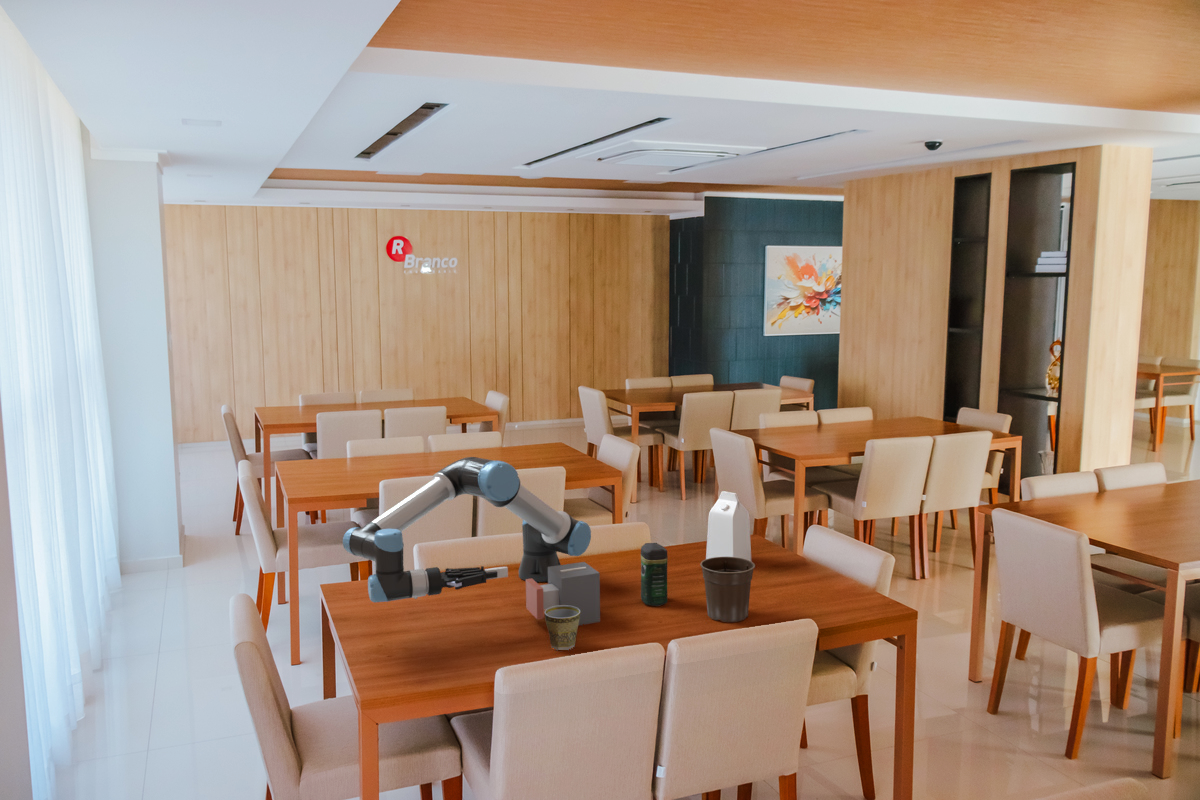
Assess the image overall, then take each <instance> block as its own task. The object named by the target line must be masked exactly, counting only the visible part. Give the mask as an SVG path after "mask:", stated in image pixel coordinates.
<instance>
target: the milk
mask: <svg viewBox="0 0 1200 800" xmlns="http://www.w3.org/2000/svg"><path fill="white" fill-rule="evenodd" d="M707 521H708V522H707V537H706V552H705V553H706V555H705V559H709V558H714V557H737V558H743V559H747V560H749V561H751V562H752V549H751V546H752V545H751V527H750V526H751V523H750V513H749V510H748V509H747V508H746V507H745V506H744V505H743V503H742V502H741V501H740V499H739V496H738V493H736V492H730V491H724V490H722V491H721V492H720V494H719V497H718V499H717V500H716V502H715V503H714V505H713V506H712V507H711V509H710V511H709V512H708V520H707Z"/></svg>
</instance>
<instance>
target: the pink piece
mask: <svg viewBox="0 0 1200 800" xmlns="http://www.w3.org/2000/svg"><path fill="white" fill-rule="evenodd" d="M525 602H526V603H525V604H526V605H525V609H527V611H529V613H530V614H531V615H532V616H533V617H534V618H535V619H536V620H543V619H545V615H544V611H545V610H546V609H548V608H550V607H553V606H558V605H559V589H558V588H557V587H556V586H555V585H553V584H548V583H545V584H539V582H536V581H534V580H533V579H532V578H531V579H526V580H525Z"/></svg>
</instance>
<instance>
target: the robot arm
mask: <svg viewBox="0 0 1200 800" xmlns="http://www.w3.org/2000/svg"><path fill="white" fill-rule="evenodd" d="M462 495H470V496H476V497H480V498H482V499H484V500H485V501H487V502H488V503H490V504H491V505H493V506H494V507H496V508H506V509H507V510H508V511H510V512H511V513H512V514H514V515H515V516H516V517H518V518H519V519H521V520H522V524H521V525H522V544H523V545H522V547H523V548H522V557H521V561H520V565H519V568H518V578H520V579H521V580H523V581H526V579H531V578H532V579H533V580H534V581H536V582H537V583H543V582H548V567H551V566H558V565H562V564H561V560H560V559H559V556H558V554H557V553H561V554H566V555H569V556H573V557H579V556H582V554H584V553H585V552H586V551H587V550H588V548H589V546H590V544H591V543H590V542H591V538H592V530H591V529H592V528H591V527H590V525H589V523H588V522H584V521H583V520H577V519H575V518H574V517H572V516H571V515H570V514H568V512H566V511H564V510H558V511H557V510H556V509H554V508H553V507H551V505H549V504H547V503H546V502H545V501H544V500H542V499H541V498H539V496H537V495H536V494H534V493H533V492H531V490H529V489H527V488H526V487H525V486H523V484H522V482H521V479H520V477H519V474H518V471H517V469H515V467H514V466H513V465H511V464H509V463H508V462H506V461H504V460H503V461H502V460H498V459H497V460H493V459H487V458H482V457H476V456H469V457H468V456H466V457H463V458H460V459H457V460H456V461H453V462H452V463H450V464H448V465H446V466H444V467H442V468H441V469H439V470H438V471H437V472H435V473H434V474H433V476H432V479H431V480H430V481H429V482H427V483H425V484H424V485H422V486H421V487H419V488H418V489H416V490H415V491H414V492H412V493H411V494H409V495H408V496H406V497H405V498H404V499H402V500H401V501H399V502H397V503H396V504H395V505H393V506H392V507H390V508H389V509H387V510H386V511H384V512H383V513H382V514H380V515H379V516H378V517H375V518H374V519H373V520H372V521H370V522H368V523H367V524H366V525H364V526H362V527H360V526H359V527H355V526H354V527H351V528H349V529H348V530H347V531H346V532H345V533H344V534H343V538H342V546H343V549H345V551H346V552H347V553H349V554H352V555H353V556H355V557H360V558H364V559H367V560H369V561H372V562H375V565H374V566H375V574H370V575H369V576H368V579H367V592H368V597H369V601H371V602H372V603H383V602H387V603H388V602H393V601H399V600H404V599H415V600H417V599H418V598H420V597H425V596H426V595H427V596H436V595H440V594H441V593H442V589H443V588H447V589H452V588H453V589H455V591H456V590H457V591H458V590H460V589H461V590H462V589H463V588H468V587H471V586H472V587H473V586H475V585H481V584H487V580H494V579H501V578H503V579H504V578H508V577H509V569H508V568H509V567H508V566H498V567H490V568H485V566H483V565H481V566H480V567H476V566H475V567H459V568H450V567H449V568H448V567H447V568H445V571H442V572H441V569H440V568H439V567H438V566H435V567H426V568H425V569H424V568H418V569H417V568H416V569H410V570H405V568H404V547H405V546H404V541H403V540H404V538H403V531H406V529H407V528H409V527H411V526H412V525H413V524H414V523H417V521H419V520H420V519H421V518H422V517H424V516H426V515H427V514H428V513H430V512H432V510H434V509H436V508H437V507H439V506H440V505H441V504H443V503H444V502H445V501H447V500H448V501H452V500H454V499H455V498H457V497H459V496H462Z"/></svg>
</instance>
